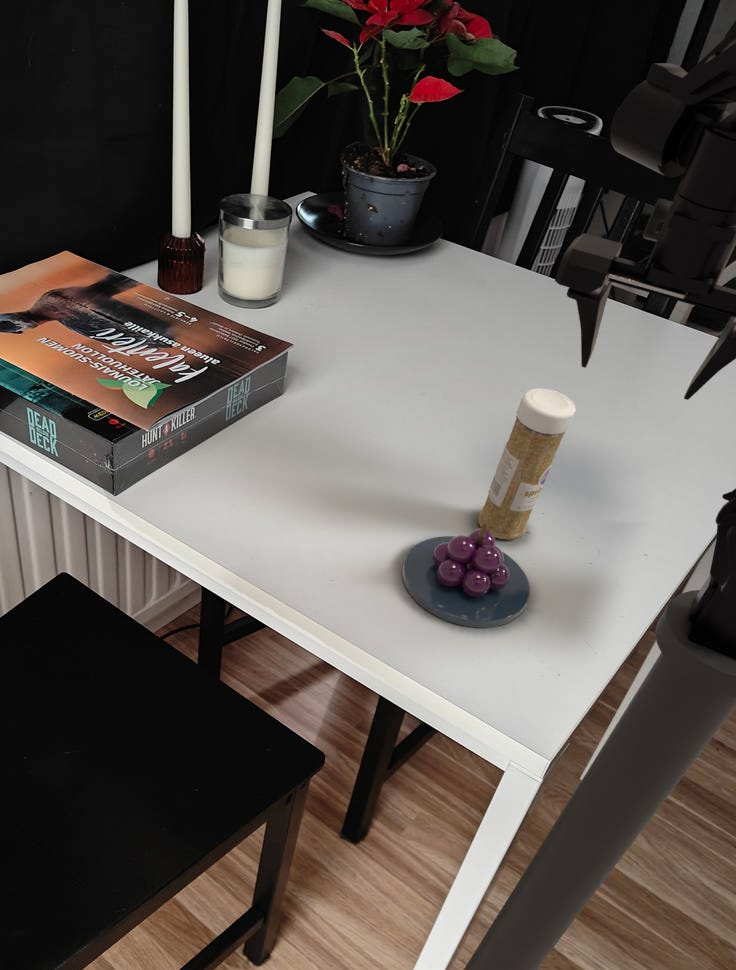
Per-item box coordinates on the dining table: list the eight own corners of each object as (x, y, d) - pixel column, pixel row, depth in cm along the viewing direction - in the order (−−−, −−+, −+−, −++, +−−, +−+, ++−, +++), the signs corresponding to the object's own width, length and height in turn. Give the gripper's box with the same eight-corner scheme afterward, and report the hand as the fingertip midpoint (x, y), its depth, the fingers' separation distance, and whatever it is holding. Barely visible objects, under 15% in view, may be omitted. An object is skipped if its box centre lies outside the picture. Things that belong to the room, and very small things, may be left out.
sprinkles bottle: (521, 547, 83) (575, 420, 73) (473, 533, 83) (520, 406, 74) (526, 519, 86) (579, 394, 76) (479, 505, 86) (526, 380, 77)
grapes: (541, 572, 80) (567, 513, 76) (506, 646, 73) (532, 586, 68) (427, 527, 83) (445, 467, 78) (383, 594, 76) (400, 532, 71)
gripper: (843, 202, 72) (749, 377, 83) (615, 146, 77) (554, 319, 88) (840, 243, 65) (737, 430, 76) (588, 178, 70) (525, 363, 81)
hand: (634, 381), depth 80 cm, fingers open, 9 cm apart
